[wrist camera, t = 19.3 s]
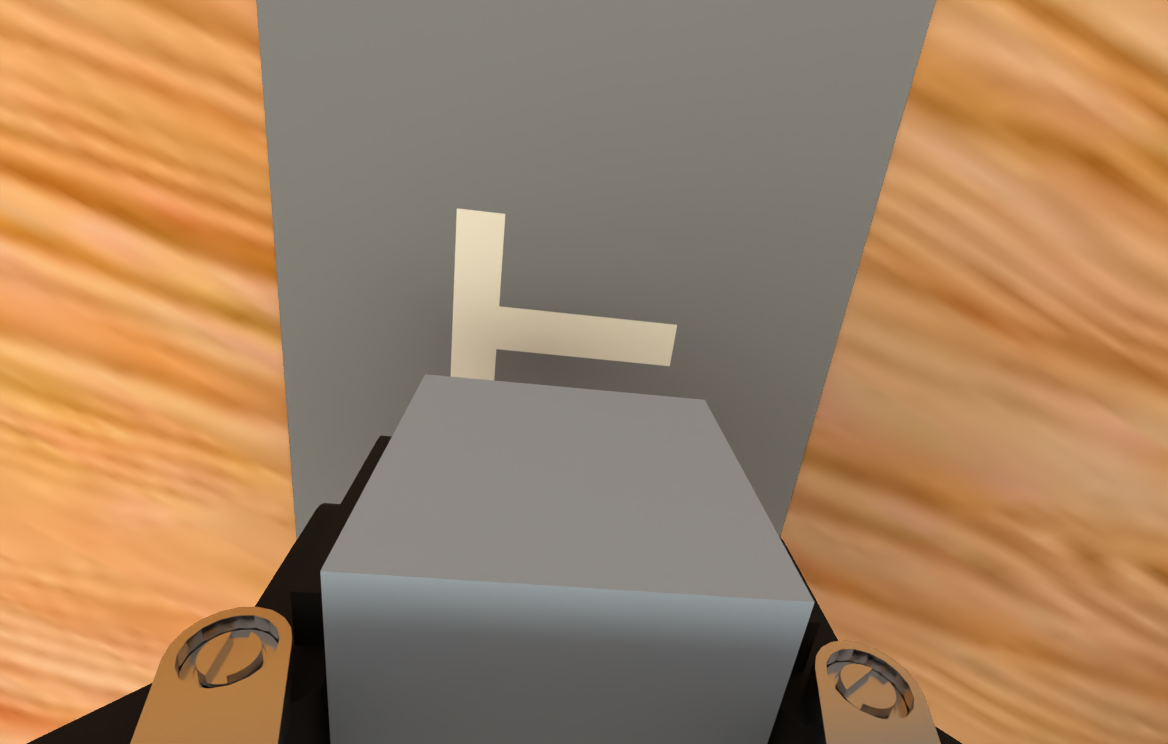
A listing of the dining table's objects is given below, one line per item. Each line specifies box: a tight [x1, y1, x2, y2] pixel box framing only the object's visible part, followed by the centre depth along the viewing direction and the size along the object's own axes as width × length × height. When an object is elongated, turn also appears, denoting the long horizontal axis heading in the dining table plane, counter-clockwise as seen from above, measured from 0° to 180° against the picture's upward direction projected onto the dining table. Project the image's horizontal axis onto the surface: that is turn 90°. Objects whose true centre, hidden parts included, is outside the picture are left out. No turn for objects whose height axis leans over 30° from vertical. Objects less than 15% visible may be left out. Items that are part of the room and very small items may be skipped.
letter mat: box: [256, 0, 936, 539], centre depth 22 cm, size 20×24×1 cm
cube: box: [320, 374, 815, 744], centre depth 9 cm, size 5×5×5 cm
